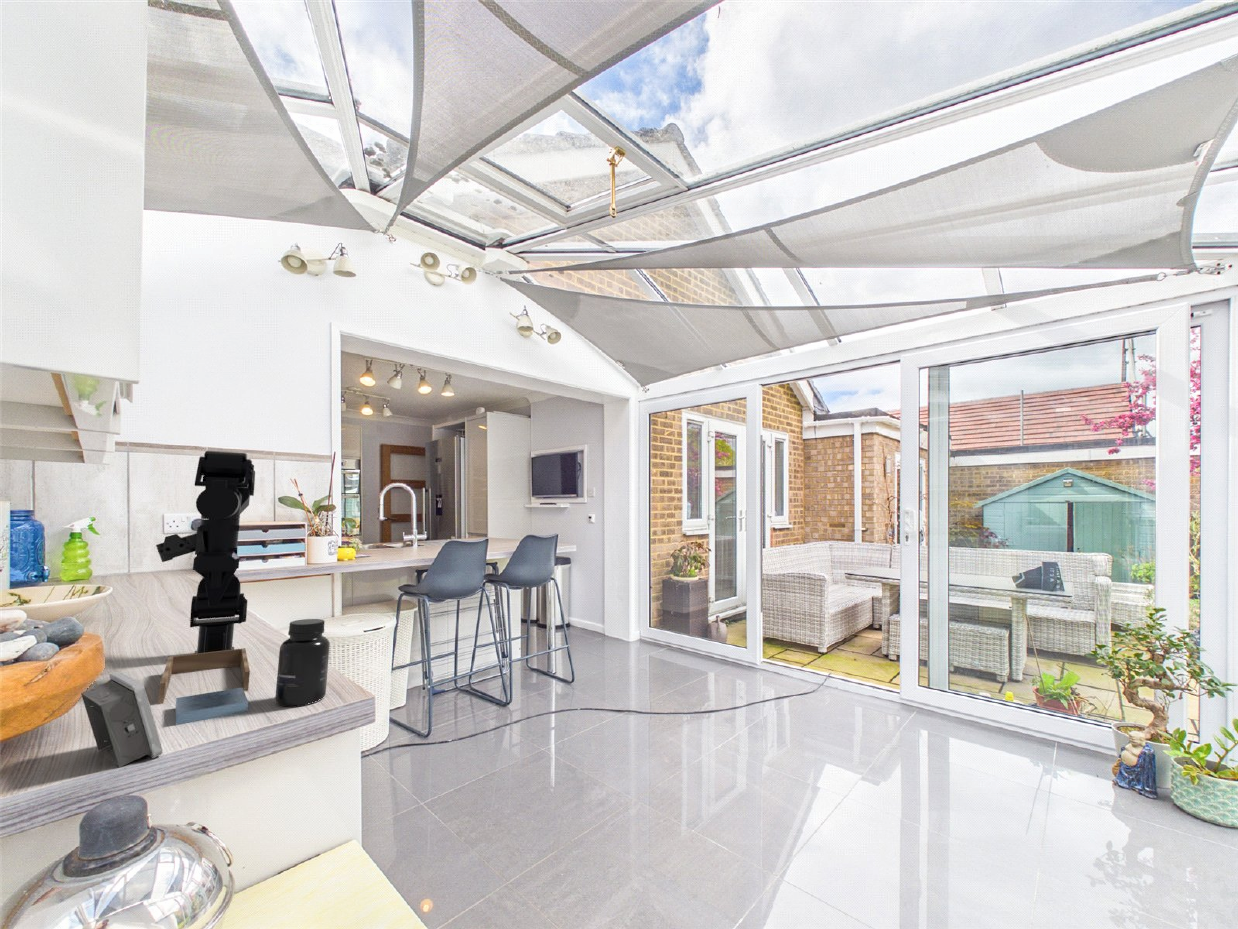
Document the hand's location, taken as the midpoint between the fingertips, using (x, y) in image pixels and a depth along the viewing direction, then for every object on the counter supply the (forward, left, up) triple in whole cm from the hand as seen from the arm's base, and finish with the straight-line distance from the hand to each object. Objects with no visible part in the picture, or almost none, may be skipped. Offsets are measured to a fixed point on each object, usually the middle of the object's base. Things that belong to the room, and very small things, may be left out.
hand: (212, 606), depth 95 cm
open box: (+5, 0, -12) cm, 13 cm away
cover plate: (+21, +1, -12) cm, 25 cm away
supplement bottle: (+24, +12, -12) cm, 29 cm away
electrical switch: (+34, -7, -12) cm, 37 cm away
